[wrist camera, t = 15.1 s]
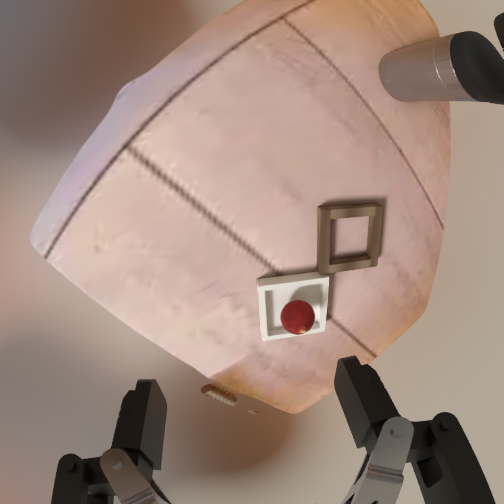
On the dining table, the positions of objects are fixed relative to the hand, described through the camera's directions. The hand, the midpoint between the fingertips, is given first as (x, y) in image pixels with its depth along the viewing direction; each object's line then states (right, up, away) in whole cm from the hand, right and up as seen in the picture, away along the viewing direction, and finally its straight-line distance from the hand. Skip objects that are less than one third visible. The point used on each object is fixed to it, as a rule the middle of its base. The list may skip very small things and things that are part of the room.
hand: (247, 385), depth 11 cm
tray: (+7, -4, +39) cm, 40 cm away
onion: (+7, -4, +38) cm, 39 cm away
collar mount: (+16, +8, +34) cm, 39 cm away
